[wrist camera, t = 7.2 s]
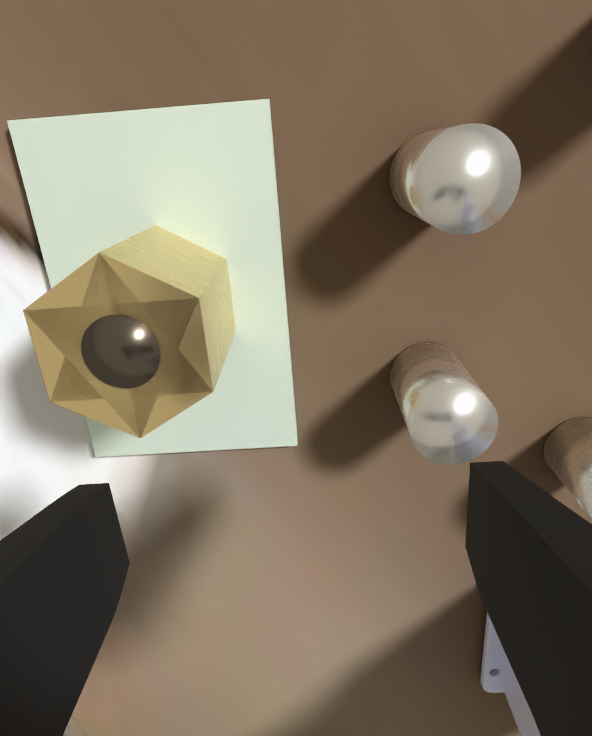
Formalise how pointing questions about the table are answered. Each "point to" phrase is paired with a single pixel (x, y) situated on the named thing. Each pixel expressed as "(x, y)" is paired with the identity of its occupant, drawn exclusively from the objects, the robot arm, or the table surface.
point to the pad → (188, 220)
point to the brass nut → (135, 331)
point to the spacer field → (435, 361)
